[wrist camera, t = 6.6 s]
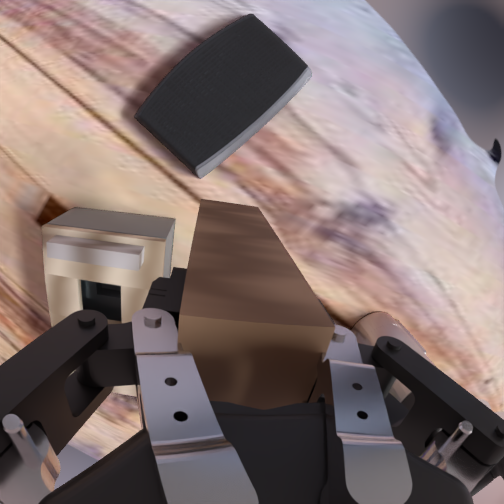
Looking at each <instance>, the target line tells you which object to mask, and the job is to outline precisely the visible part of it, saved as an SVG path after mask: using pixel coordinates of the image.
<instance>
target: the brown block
mask: <svg viewBox="0 0 504 504" xmlns="http://www.w3.org/2000/svg"><path fill="white" fill-rule="evenodd" d="M335 328H336V327H335V325H334V324H333V322H332V321H331V319H330V317H329V316H328V314H327V313H326V311H325V310H324V308H323V306H322V305H321V303H320V302H319V300H318V298H317V297H316V295H315V294H314V292H313V291H312V289H311V287H310V286H309V284H308V283H307V281H306V280H305V278H304V276H303V275H302V273H301V272H300V270H299V269H298V267H297V266H296V264H295V263H294V261H293V259H292V258H291V256H290V255H289V253H288V252H287V250H286V249H285V247H284V246H283V244H282V243H281V241H280V240H279V238H278V236H277V235H276V233H275V232H274V230H273V229H272V227H271V226H270V224H269V223H268V221H267V220H266V218H265V217H264V215H263V214H262V212H261V211H260V209H259V208H258V207H254V206H247V205H240V204H233V203H226V202H219V201H212V200H204V199H201V203H200V207H199V212H198V217H197V222H196V227H195V231H194V236H193V241H192V247H191V252H190V257H189V262H188V268H187V273H186V279H185V284H184V290H183V296H182V302H181V308H180V314H179V327H178V342H177V343H181V344H182V347H183V350H184V351H190V352H191V354H192V356H193V359H194V362H195V365H196V367H197V370H198V373H199V375H200V378H201V381H202V383H203V386H204V389H205V391H206V394H207V396H208V399H209V401H222V402H230V403H234V404H238V405H243V406H247V407H252V408H257V409H262V410H266V409H272V408H277V407H282V406H286V405H291V404H295V403H302V402H303V401H307V400H308V398H309V396H310V393H311V391H312V388H313V386H314V383H315V381H316V378H317V363H318V361H319V358H320V355H321V353H322V352H327V350H328V347H329V344H330V342H331V339H332V336H333V333H334V331H335Z"/></svg>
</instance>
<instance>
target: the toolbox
mask: <svg viewBox="0 0 504 504" xmlns="http://www.w3.org/2000/svg"><path fill="white" fill-rule="evenodd" d="M47 224H51V225H59V226H67V227H75V228H83V229H91V230H99V231H107V232H115V233H123V234H131V235H139V236H147V237H155V238H163V239H166V247H165V259H164V272H163V277H165V278H170V271H171V259H172V248H173V238H174V228H175V219H173V218H165V217H157V216H148V215H140V214H131V213H123V212H114V211H105V210H96V209H87V208H78V207H74V208H73V209H71V210H69V211H67V212H65V213H64V214H62V215H60V216H58V217H57V218H55V219H53V220H51V221H50V222H48V223H47ZM81 292H82V305H83V310H95V311H98V312H101V313H102V314H104V315H105V316H106V317H107V319H109V320H115V321H121V322H122V315H121V286H119V285H112V284H106V283H99V282H93V281H87V280H81Z"/></svg>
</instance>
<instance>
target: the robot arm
mask: <svg viewBox="0 0 504 504" xmlns="http://www.w3.org/2000/svg"><path fill="white" fill-rule="evenodd" d="M186 273H187V269H184V268H176V267H173V270H172V274H171V277H170V278H165V277H159V278H157V279H156V280H154V281H153V282H152V284H151V287H150V290H149V292H148V295H147V297H146V300H145V303H144V306H143V308H142V309H141V310H138V311H136V312H135V313H134V314H133V315H132V321H131V322H127V323H122V324H108V320H107V317H106V316H105V315H104V314H102V313H101V312H98V311H95V310H79V311H76V312H74V313H72V314H70V315H69V316H67V317H66V318H65V319H63V320H62V321H60V322H59V323H57V324H56V325H55V326H53V327H52V328H50V329H49V330H48V331H46V332H45V333H44V334H42V335H41V336H39V337H38V338H37V339H35V340H34V341H33V342H31V343H30V344H28V345H27V346H26V347H24V348H23V349H22V350H20V351H19V352H18V353H16V354H15V355H14V356H12V357H11V358H10V359H8V360H7V361H6V362H4V363H3V364H2V365H0V503H1V504H473V499H472V496H473V495H475V494H476V493H477V492H479V491H480V490H481V489H483V488H484V487H485V486H487V485H488V484H489V483H490V482H491V481H493V479H495V478H496V477H498V476H502V478H503V479H504V420H503V419H502V418H500V417H499V416H498V415H497V414H496V413H494V412H493V411H492V410H491V409H489V408H488V407H486V406H485V405H484V404H483V403H482V402H480V401H479V400H478V399H477V398H475V397H474V396H473V395H471V394H470V393H469V392H468V391H466V390H465V389H464V388H462V387H461V386H460V385H459V384H457V383H456V382H455V381H453V380H452V379H451V378H450V377H448V376H447V375H446V374H444V373H443V372H442V371H440V370H439V369H438V368H437V367H436V366H435V365H434V364H433V363H432V361H431V360H430V359H429V358H428V357H427V356H426V350H425V349H424V348H423V347H422V346H421V345H420V343H419V342H418V341H417V340H416V339H415V338H414V337H413V336H412V335H411V334H410V332H409V331H408V330H407V329H406V328H405V327H404V326H403V325H402V324H401V323H400V322H399V320H394V318H393V317H392V316H391V315H389V314H388V313H385V312H375V313H372V314H369V315H367V316H365V317H363V318H362V319H361V320H359V321H358V322H357V323H356V324H355V325H354V327H353V328H352V330H351V331H350V330H349V329H347V328H345V327H343V326H339V325H335V323H334V322H333V320H332V318H331V317H330V315H329V314H328V313H327V311H326V309H325V307H324V306H323V304H322V303H321V301H320V300H319V299H318V300H319V302H320V303H321V305H322V306H323V308H324V310H325V311H326V313H327V314H328V316H329V317H330V319H331V321H332V322H333V324H334V325H335V327H336V328H335V331H334V333H333V336H332V339H331V342H330V344H329V347H328V350H327V352H322V353H321V355H320V358H319V361H318V363H317V378H316V381H315V383H314V386H313V388H312V391H311V393H310V396H309V398H308V400H307V401H303V402H302V403H295V404H291V405H286V406H282V407H277V408H272V409H266V410H262V409H257V408H252V407H247V406H243V405H238V404H234V403H230V402H222V401H209V399H208V396H207V394H206V391H205V389H204V386H203V383H202V381H201V378H200V375H199V373H198V370H197V367H196V365H195V362H194V359H193V356H192V354H191V352H190V351H184V350H183V347H182V344H181V343H177V342H178V327H179V314H180V308H181V302H182V296H183V290H184V284H185V279H186ZM73 371H74V372H73ZM72 372H73V373H72ZM71 373H72V374H71ZM70 374H71V375H70ZM69 375H70V376H69ZM68 376H69V377H68ZM127 385H135V389H136V396H137V403H138V409H139V415H140V422H141V429H142V430H140V431H139V432H138V433H136V434H135V435H134V436H132V437H131V438H130V439H128V440H127V441H126V442H124V443H123V444H121V445H120V446H119V447H117V448H116V449H115V450H113V451H112V452H110V453H109V454H107V455H106V456H105V457H103V458H102V459H100V460H99V461H98V462H96V463H95V464H93V465H92V466H91V467H89V468H87V469H86V470H84V471H83V472H81V473H80V474H78V475H77V476H75V477H74V478H72V479H71V480H70V481H68V482H67V483H65V484H63V485H62V486H60V487H59V488H57V489H55V490H54V485H55V482H56V479H57V478H58V476H59V473H60V463H59V460H58V458H57V455H58V454H59V453H60V452H61V450H62V449H63V448H64V447H65V446H66V444H67V443H68V442H69V441H70V440H71V439H72V437H73V436H74V435H75V434H76V433H77V431H78V430H79V429H80V428H81V427H82V426H83V424H84V423H85V422H86V421H87V420H88V419H89V417H90V416H91V415H92V414H93V413H94V412H95V410H96V409H97V408H98V407H99V406H100V405H101V403H102V402H103V401H104V400H105V399H106V398H107V396H108V395H109V394H110V393H111V392H112V390H113V388H114V386H127Z"/></svg>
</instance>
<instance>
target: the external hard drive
mask: <svg viewBox="0 0 504 504" xmlns="http://www.w3.org/2000/svg"><path fill="white" fill-rule="evenodd" d="M311 77H312V72H311V69H310V68H309V67H308V65H307V64H306V63H305V62H304V61H303V60H302V59H301V58H300V57H299V56H298V55H297V54H296V53H295V52H294V51H293V50H292V49H291V48H290V47H289V46H288V45H287V44H285V43H284V42H283V41H282V40H281V39H280V38H279V37H278V36H277V35H276V34H275V33H274V32H272V31H271V30H270V29H269V28H268V27H267V26H266V25H265V24H264V23H263V22H261V21H260V20H259V19H258V18H257V17H256V16H255V15H254V14H248V15H246V16H244V17H242V18H240V19H238V20H236V21H235V22H233V23H231V24H230V25H228V26H226V27H225V28H223V29H221V30H220V31H218V32H217V33H215V34H214V35H212V36H211V37H209V38H208V39H207V40H205V41H204V42H203V43H201V44H200V45H199V46H197V47H196V48H195V49H194V50H192V51H191V52H190V53H189V54H188V55H187V56H186V57H184V58H183V59H182V60H181V61H180V62H179V63H178V64H177V65H176V66H175V67H174V68H173V69H172V70H171V71H170V72H169V73H168V74H167V75H166V76H165V77H164V79H163V80H162V81H161V82H160V83H159V84H158V85H157V87H156V88H155V89H154V90H153V91H152V93H151V94H150V95H149V96H148V98H147V99H146V100H145V102H144V103H143V104H142V106H141V107H140V108H139V110H138V111H137V113H136V114H135V116H134V117H135V118H136V119H137V120H138V121H139V122H140V123H141V124H142V125H143V126H144V127H145V128H146V129H147V130H149V132H151V133H152V134H153V135H154V136H155V137H156V138H157V139H158V140H159V141H160V142H161V143H162V144H163V145H165V146H166V147H167V148H168V149H169V150H170V151H171V152H172V153H173V154H174V155H175V156H176V157H177V158H178V159H179V160H180V161H181V162H183V163H184V164H185V165H186V166H187V167H188V168H189V169H190V170H191V171H192V173H193V174H195V175H196V176H197V177H198V178H200V179H201V178H203V177H204V176H205V175H207V174H208V173H209V172H211V171H212V170H213V169H214V168H216V167H217V166H218V165H219V164H221V163H222V162H223V161H224V160H225V159H227V158H228V157H229V156H230V155H231V154H233V153H234V152H235V151H236V150H237V149H238V148H240V147H241V146H242V145H243V144H244V143H245V142H247V141H248V140H249V139H250V138H251V137H252V136H253V135H254V134H255V133H257V132H258V131H259V130H260V129H261V128H262V127H263V126H264V125H265V124H266V123H267V122H269V121H270V120H271V119H272V118H273V117H274V116H275V115H276V114H277V113H278V112H279V111H280V110H281V109H282V108H283V107H284V106H285V105H286V104H287V103H288V102H289V101H290V100H291V99H292V98H293V97H294V96H295V95H296V94H297V93H298V92H299V91H300V90H301V88H302V87H303V86H304V85H305V84H306V83H307V82H308V81H309V79H310V78H311Z"/></svg>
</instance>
